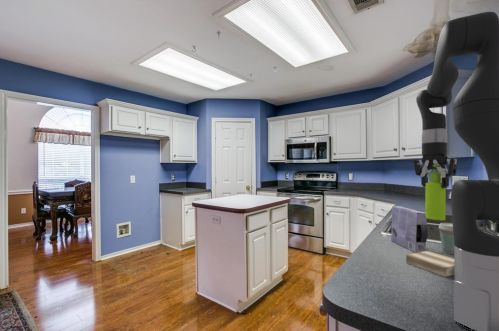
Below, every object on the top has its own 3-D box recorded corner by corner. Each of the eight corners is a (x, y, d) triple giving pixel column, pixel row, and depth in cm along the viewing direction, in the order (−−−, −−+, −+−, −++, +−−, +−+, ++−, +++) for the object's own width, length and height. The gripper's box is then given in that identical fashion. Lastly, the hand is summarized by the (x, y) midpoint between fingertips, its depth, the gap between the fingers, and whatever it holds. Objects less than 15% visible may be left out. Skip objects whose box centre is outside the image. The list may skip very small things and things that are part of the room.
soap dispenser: (427, 219, 86) (427, 164, 87) (424, 216, 92) (424, 164, 93) (448, 221, 84) (448, 164, 84) (443, 218, 90) (443, 164, 90)
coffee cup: (461, 251, 105) (461, 224, 105) (467, 257, 97) (466, 228, 98) (437, 248, 109) (436, 221, 109) (440, 253, 102) (440, 225, 102)
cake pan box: (429, 254, 101) (428, 212, 101) (417, 254, 101) (416, 212, 101) (400, 241, 120) (400, 205, 120) (390, 240, 120) (390, 205, 120)
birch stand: (444, 276, 79) (444, 267, 80) (406, 262, 92) (406, 254, 92) (467, 270, 84) (467, 262, 84) (428, 258, 96) (427, 250, 96)
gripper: (408, 143, 94) (408, 186, 94) (450, 139, 81) (451, 189, 80) (420, 144, 97) (421, 186, 97) (463, 140, 84) (464, 188, 83)
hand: (434, 187), depth 88 cm, fingers closed on soap dispenser, 6 cm apart
